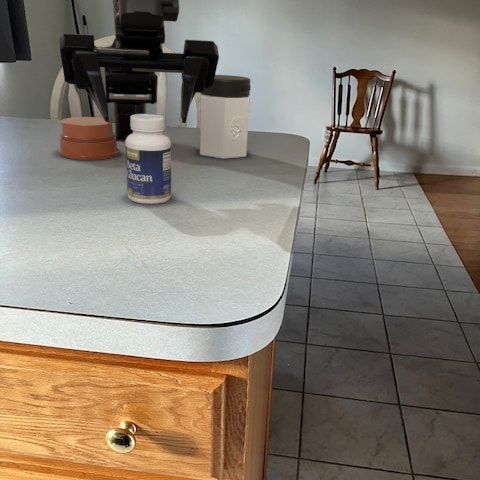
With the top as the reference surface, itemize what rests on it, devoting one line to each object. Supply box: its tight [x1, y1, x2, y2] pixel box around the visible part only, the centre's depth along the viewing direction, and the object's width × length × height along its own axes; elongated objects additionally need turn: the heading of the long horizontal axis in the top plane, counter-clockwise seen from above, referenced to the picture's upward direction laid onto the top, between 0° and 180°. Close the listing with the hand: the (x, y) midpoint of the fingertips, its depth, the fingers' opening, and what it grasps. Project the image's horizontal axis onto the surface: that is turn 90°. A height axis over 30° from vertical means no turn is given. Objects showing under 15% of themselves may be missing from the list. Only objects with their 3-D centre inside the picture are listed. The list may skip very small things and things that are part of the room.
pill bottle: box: [124, 113, 172, 205], centre depth 65 cm, size 5×5×10 cm
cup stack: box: [58, 116, 120, 161], centre depth 87 cm, size 9×9×5 cm
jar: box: [199, 74, 251, 160], centre depth 90 cm, size 9×8×12 cm
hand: (146, 120), depth 65 cm, fingers open, 9 cm apart
